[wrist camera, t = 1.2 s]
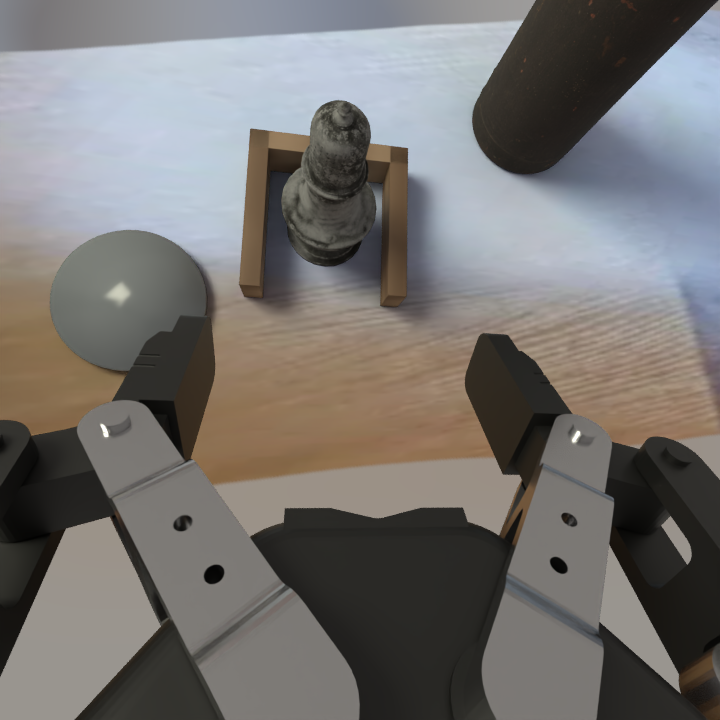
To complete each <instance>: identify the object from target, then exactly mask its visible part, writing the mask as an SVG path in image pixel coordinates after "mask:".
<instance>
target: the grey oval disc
mask: <svg viewBox="0 0 720 720" xmlns="http://www.w3.org/2000/svg"><path fill="white" fill-rule="evenodd" d="M206 310H207V292H206V287H205V283H204V280H203V277H202V275H201V273H200V271H199V269H198V268H197V266H196V264H195V263H194V261H193V260H192V259H191V258H190V256H189V255H188V254H187V253H186V252H185V251H184V250H183V249H182V248H181V247H179V246H178V245H176V244H175V243H174V242H172V241H170V240H168V239H166V238H164V237H162V236H159V235H157V234H153V233H150V232H145V231H138V230H123V231H115V232H110V233H106V234H103V235H100V236H97V237H95V238H93V239H91V240H89V241H87V242H86V243H84V244H82V245H81V246H80V247H78V248H77V249H76V250H75V251H73V252H72V253H71V254H70V255H69V256H68V258H67V259H66V260H65V261H64V263H63V264H62V265H61V267H60V268H59V270H58V272H57V274H56V276H55V279H54V281H53V284H52V289H51V293H50V311H51V316H52V320H53V323H54V326H55V328H56V330H57V332H58V334H59V336H60V337H61V339H62V340H63V341H64V343H65V344H66V345H67V346H68V347H69V348H70V349H71V350H72V351H73V352H74V353H75V354H77V355H78V356H80V357H81V358H82V359H84V360H86V361H88V362H90V363H92V364H95V365H97V366H100V367H103V368H107V369H112V370H116V371H129V370H130V369H131V367H132V366H133V363H134V362H135V360H136V358H137V356H139V353H140V351H141V349H142V348H143V346H144V344H145V342H146V341H147V340H149V339H150V338H151V337H153V336H154V335H156V334H157V333H158V332H160V331H167V332H172V331H173V329H174V327H175V325H176V323H177V321H178V319H179V317H180V315H197V316H205V315H206Z"/></svg>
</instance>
